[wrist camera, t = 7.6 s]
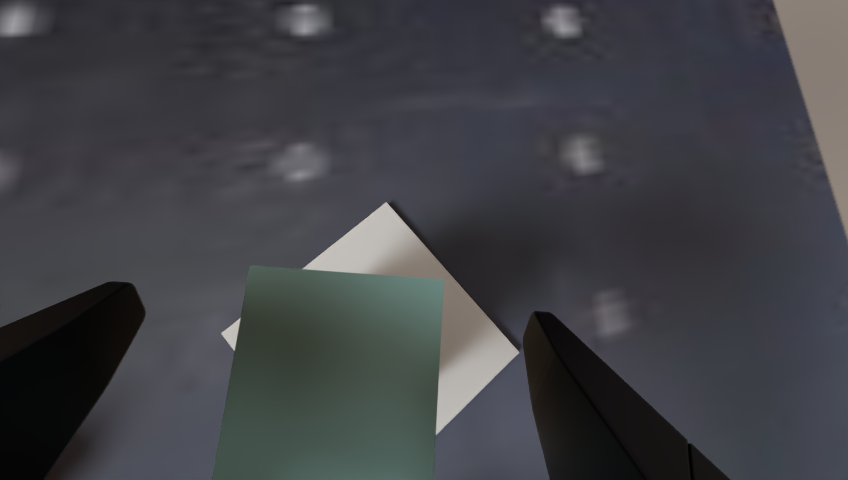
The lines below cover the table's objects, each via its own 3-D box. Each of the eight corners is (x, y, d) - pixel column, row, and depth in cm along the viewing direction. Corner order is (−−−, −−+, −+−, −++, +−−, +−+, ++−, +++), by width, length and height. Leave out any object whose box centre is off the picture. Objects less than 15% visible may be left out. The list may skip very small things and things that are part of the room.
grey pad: (516, 351, 21) (519, 352, 21) (358, 508, 19) (357, 513, 18) (386, 204, 23) (386, 202, 22) (225, 333, 20) (221, 333, 20)
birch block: (413, 393, 20) (432, 495, 8) (323, 387, 20) (211, 484, 8) (419, 302, 21) (443, 279, 9) (334, 296, 21) (249, 265, 9)
